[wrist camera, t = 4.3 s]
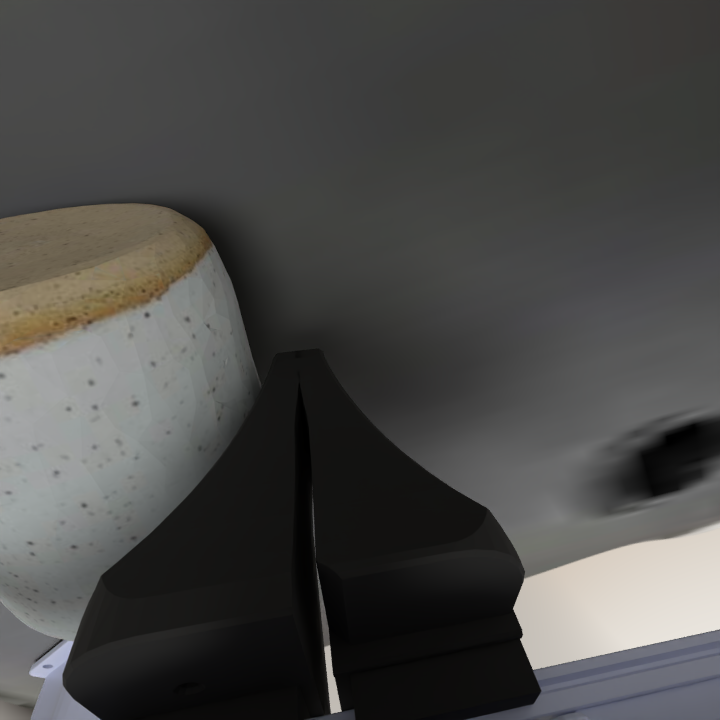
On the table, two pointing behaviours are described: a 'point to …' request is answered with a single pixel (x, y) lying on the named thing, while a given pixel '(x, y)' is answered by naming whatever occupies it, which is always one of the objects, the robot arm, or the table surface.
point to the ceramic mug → (107, 392)
